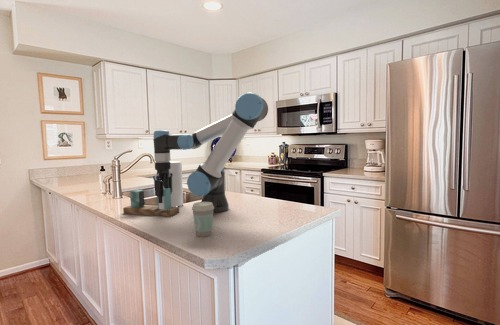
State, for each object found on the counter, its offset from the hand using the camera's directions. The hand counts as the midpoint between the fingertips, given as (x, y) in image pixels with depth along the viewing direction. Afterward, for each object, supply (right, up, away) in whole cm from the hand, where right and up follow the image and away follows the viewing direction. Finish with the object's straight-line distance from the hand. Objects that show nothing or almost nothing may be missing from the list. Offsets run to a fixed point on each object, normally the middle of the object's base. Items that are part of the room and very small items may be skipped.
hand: (164, 207), depth 139 cm
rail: (-8, -3, +2) cm, 9 cm away
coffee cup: (+25, -5, -32) cm, 41 cm away
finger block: (0, 0, 0) cm, 0 cm away
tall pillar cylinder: (-1, -2, +19) cm, 19 cm away
